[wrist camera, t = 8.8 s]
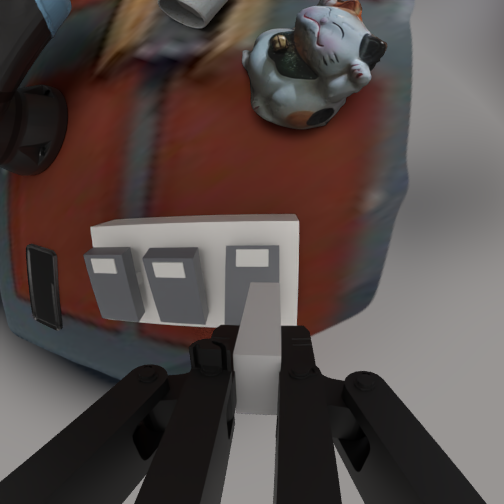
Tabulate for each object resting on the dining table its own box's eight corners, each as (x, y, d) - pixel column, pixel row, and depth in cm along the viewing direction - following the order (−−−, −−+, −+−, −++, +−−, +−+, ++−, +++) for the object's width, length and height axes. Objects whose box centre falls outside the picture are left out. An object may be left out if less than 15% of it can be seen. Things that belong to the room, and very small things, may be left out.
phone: (33, 318, 42) (25, 243, 38) (36, 316, 43) (29, 242, 39) (61, 332, 42) (54, 253, 38) (64, 329, 43) (58, 251, 39)
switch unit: (126, 303, 39) (101, 326, 32) (114, 219, 36) (83, 229, 29) (293, 309, 37) (297, 338, 30) (295, 213, 34) (300, 223, 27)
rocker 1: (145, 311, 31) (138, 322, 29) (109, 308, 32) (101, 318, 30) (130, 246, 28) (120, 255, 26) (92, 247, 28) (82, 255, 26)
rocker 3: (278, 329, 28) (278, 332, 26) (228, 329, 28) (224, 331, 26) (279, 249, 29) (279, 245, 27) (229, 249, 29) (225, 245, 27)
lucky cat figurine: (239, 35, 29) (281, -43, 16) (321, 55, 33) (378, -4, 20) (242, 130, 28) (304, 47, 15) (338, 145, 32) (422, 95, 19)
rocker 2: (209, 311, 31) (205, 325, 29) (166, 309, 31) (160, 322, 29) (198, 247, 27) (192, 259, 25) (149, 247, 27) (141, 259, 25)
